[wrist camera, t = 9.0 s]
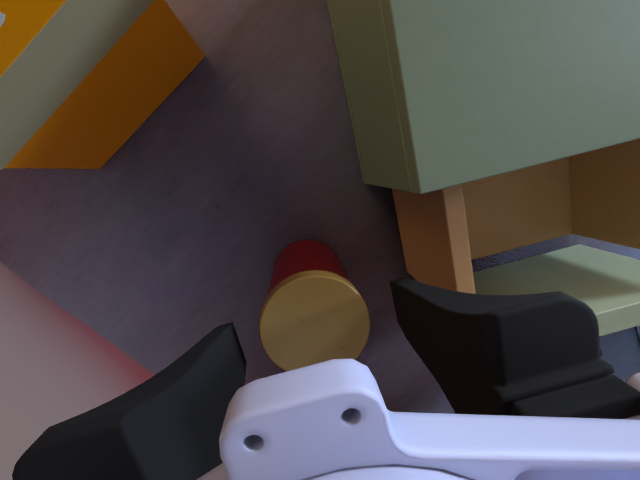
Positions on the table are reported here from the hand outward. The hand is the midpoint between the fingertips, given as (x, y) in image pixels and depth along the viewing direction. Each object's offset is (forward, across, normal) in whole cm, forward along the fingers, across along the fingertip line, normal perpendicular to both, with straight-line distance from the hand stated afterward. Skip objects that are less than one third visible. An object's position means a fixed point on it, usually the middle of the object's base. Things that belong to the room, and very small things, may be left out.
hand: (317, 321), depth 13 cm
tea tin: (+6, 0, 0) cm, 7 cm away
